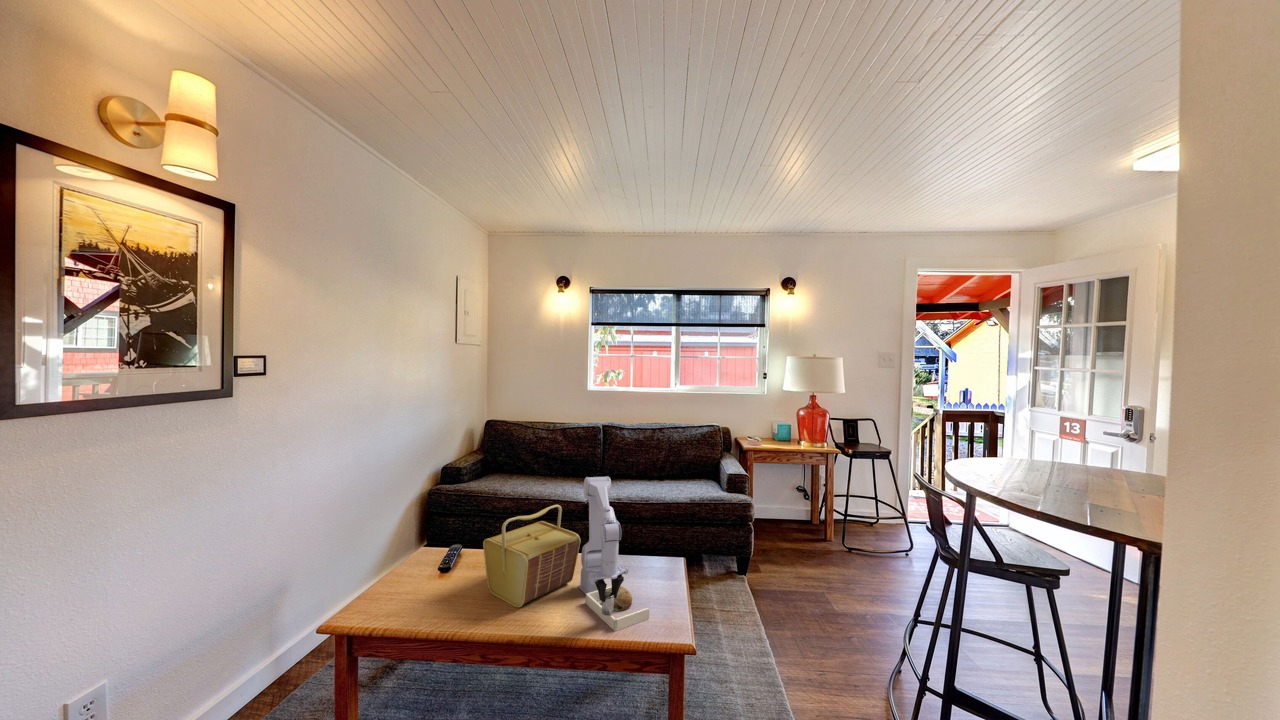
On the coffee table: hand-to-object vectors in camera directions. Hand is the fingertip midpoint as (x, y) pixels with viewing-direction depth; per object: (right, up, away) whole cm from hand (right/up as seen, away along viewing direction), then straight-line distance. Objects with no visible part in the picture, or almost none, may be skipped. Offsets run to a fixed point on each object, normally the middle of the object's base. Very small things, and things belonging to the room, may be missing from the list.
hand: (608, 598), depth 155 cm
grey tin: (0, -4, 0) cm, 4 cm away
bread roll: (+3, -9, +13) cm, 16 cm away
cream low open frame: (+2, -9, +8) cm, 12 cm away
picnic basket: (-32, -8, +22) cm, 39 cm away
